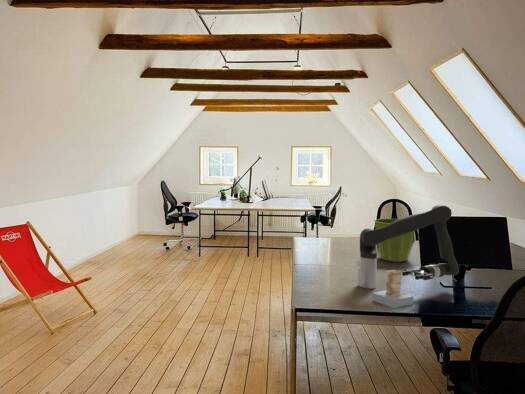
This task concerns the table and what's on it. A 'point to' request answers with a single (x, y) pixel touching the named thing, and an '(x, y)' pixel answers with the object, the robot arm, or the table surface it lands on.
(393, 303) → the base
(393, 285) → the beech block
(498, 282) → the table surface
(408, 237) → the plant pot
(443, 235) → the robot arm
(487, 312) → the table surface
